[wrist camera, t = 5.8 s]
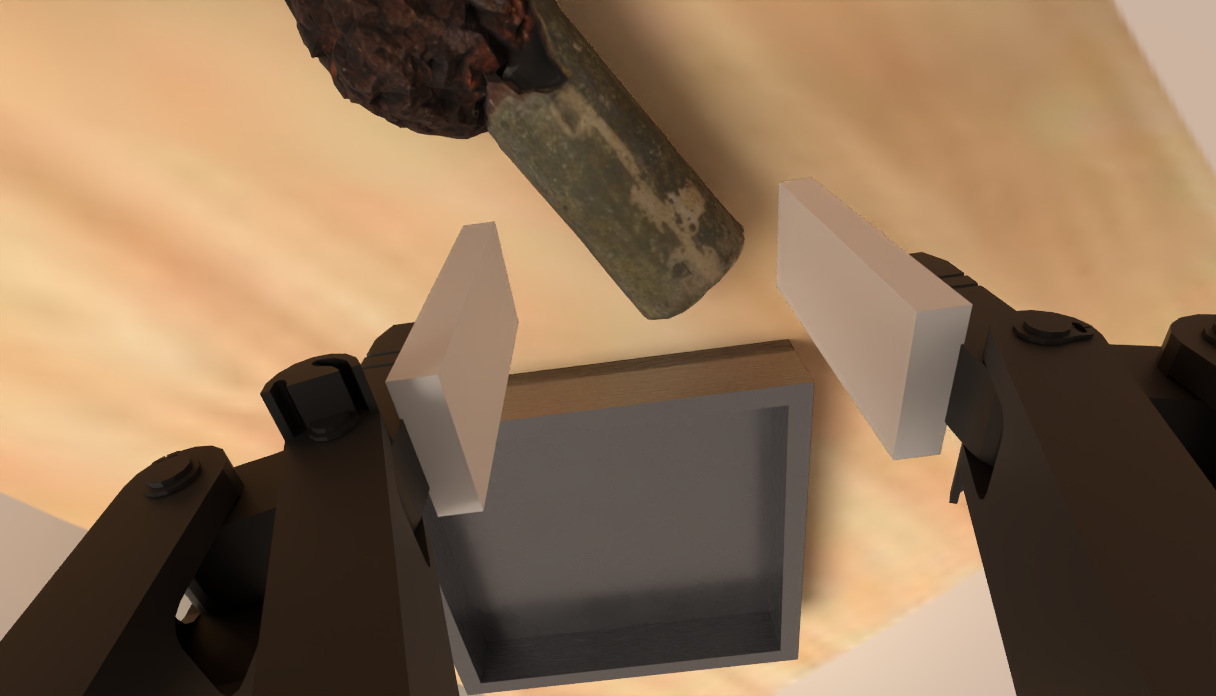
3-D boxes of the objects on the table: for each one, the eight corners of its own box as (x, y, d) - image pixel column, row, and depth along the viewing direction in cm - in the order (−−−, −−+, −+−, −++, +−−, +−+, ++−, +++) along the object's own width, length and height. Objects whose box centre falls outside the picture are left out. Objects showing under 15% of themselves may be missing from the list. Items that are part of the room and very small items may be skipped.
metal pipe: (733, 216, 23) (773, 266, 18) (603, 317, 25) (606, 388, 20) (379, -261, 16) (288, -386, 12) (238, -73, 18) (108, -111, 13)
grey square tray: (379, 391, 27) (354, 439, 24) (788, 339, 27) (814, 381, 24) (477, 638, 37) (467, 695, 34) (780, 604, 36) (797, 659, 33)
